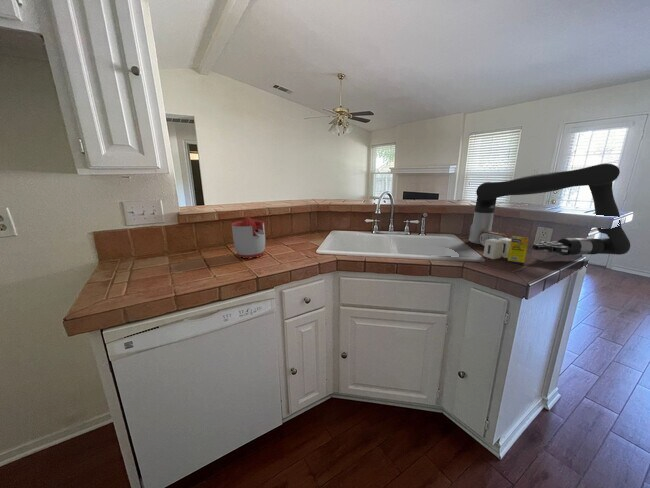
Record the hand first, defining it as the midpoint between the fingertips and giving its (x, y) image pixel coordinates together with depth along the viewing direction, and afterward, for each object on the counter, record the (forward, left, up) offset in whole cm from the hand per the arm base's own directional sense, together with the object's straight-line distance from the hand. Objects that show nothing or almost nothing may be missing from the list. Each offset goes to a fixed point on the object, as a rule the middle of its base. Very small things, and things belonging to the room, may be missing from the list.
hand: (534, 247), depth 112 cm
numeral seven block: (-10, -3, -7) cm, 12 cm away
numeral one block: (-11, -10, -7) cm, 16 cm away
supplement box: (-2, -7, -7) cm, 10 cm away
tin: (-21, +4, -7) cm, 23 cm away
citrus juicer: (-56, -116, -7) cm, 129 cm away
